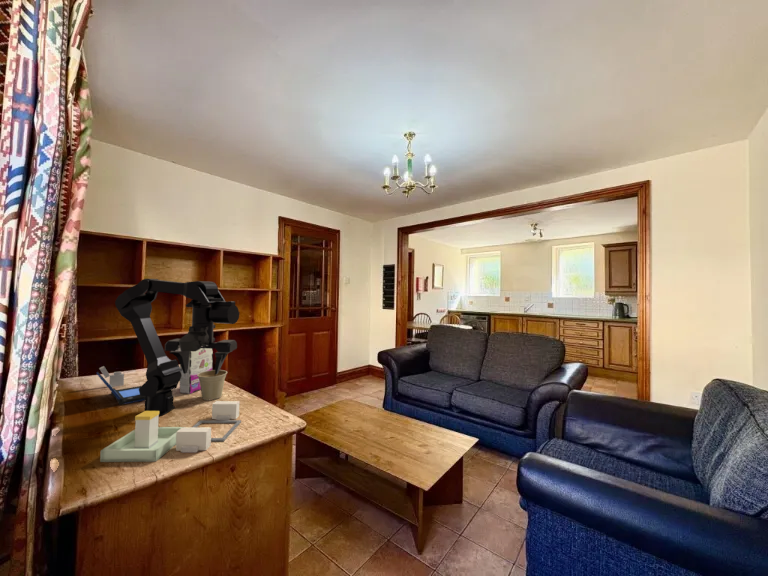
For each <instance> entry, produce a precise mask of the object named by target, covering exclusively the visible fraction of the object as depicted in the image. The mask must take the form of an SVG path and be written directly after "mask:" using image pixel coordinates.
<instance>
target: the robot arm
mask: <svg viewBox="0 0 768 576" xmlns="http://www.w3.org/2000/svg"><path fill="white" fill-rule="evenodd" d="M158 293H165V294H173V295H175V294H176V295H181V296H184V297H185V298H187V299H189V300H190V299H191V300H190V302H188V303H187V304H186V305H185V308H192V311H191V312H192V314H191V319H192V320H191V326H189V328H188V332H187V333H186V334H185V335H183V336H182V337H181V338H173V339H170V340H167V341H166V343H165V344H164V347H163V345H162V342H161V341H160V337H159V335H158V333H157V331H156V329H155V326H154V323H153V320H152V319H151V315H152V314H151V313H152V311H153V306H152V303H153V302H154V301H155V300H156V299H157V296H158ZM114 302H115V303H114V304H115V307H116V309H117V310H118V312H119V314H120V316H122V317H123V318H124V319H126V320H127V321H128V322H130V324H131V327H132V329H133V331H134V333H135V336H136V338H137V341H138V343H139V346H140V348H141V350H142V354H143V356H144V357H145V360H146V363H147V367H146V371H145V378H146V381H145V382H144V383H143V384H142V385H140V386H141V387H140V388H139V393H140V396H145V400H144V411H159V416H164V415H166V414H168V413H169V412H170V411H172V410H173V409H175V408H176V407H175V405H174V400H175V399H174V395H173V390H175V389H177V387H178V385H179V383H180V379H181V377H182V375H181V371H182V370H183V373H184V374H186V373H187V371H188V364H189V354H190V351H193V352H194V351H198V350H199V349H200V348H210V349H214V350H216V352H214V355H215V366H214V367H215V368H214V370H215V374H218V372H219V370H221V369H222V366H223V364H224V361H225V360H226V357H227V356H228V355H229V353H232V352H233V351H236V350H237V348H238V342H237V341H236V340H235V339H222V340H219V341H217V342H216V338H215V337H214V329H216V324H223V325H224V324H225V325H227V324H228V325H235V324H236V323H238V321H239V318H240V310H239V307H238V306H237V305H236V301H232V300H231V301H226V299H225V298H224V297H223V295H222V294H221V292H220V291H219V287H218V285H217V284H216V283H215V281H205V280H204V281H201V280H195V281H186V282H181V281H174V280H173V281H172V280H162V279H158V278H144V279H141V280H140V281H139V282H138V283H136V284H135V285H133V286H131V287H129V288H127V289H126V290H124V291H123V292H122V293H120V294H119V295H117V297H116V299H115V301H114ZM206 345H208V346H206ZM165 352H168V353H169V354H171V355H174V356H175V357H176V358H177V359H176V358H175V359H173V360H172V359H171V358H169V357H168V356H167V354H166V353H165ZM180 365H181V368H182V369H181V368H180ZM144 411H143V412H144Z"/></svg>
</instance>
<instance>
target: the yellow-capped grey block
mask: <svg viewBox="0 0 768 576" xmlns="http://www.w3.org/2000/svg"><path fill="white" fill-rule="evenodd" d="M134 420H135V428H134V430H135V447H134V449H150V448H151V447H152V446H154V445H155V444H156V443H158V427H159V411H143V412H141V413H139V414H137V415H135V416H134Z"/></svg>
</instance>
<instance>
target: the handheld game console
mask: <svg viewBox="0 0 768 576" xmlns="http://www.w3.org/2000/svg"><path fill="white" fill-rule="evenodd" d="M96 375H97V376H98V377H99V378H100V380H101V381H102V382H103V383H104V385H105V386H106V387H107V388H108V389H109V390H110V395H111V396H112V397H113V399H116V402H117V403H118V405H120V406H122V405H125V404H132V403H137V402H141V401H142V402H143V401H145V396H140V393H139V388H140V387H141V386H142V385H138V386H131V387H126V388H121V389H115V388H114V387H111V386H110V384H109V382H108V381H107V380H106V378H105V377H104V376H102V375H101V373H100V372H99V371H97V372H96Z"/></svg>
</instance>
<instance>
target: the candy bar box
mask: <svg viewBox="0 0 768 576" xmlns="http://www.w3.org/2000/svg"><path fill="white" fill-rule="evenodd" d="M206 346H208V345H206ZM213 352H214V351H213V349H210V348H200V349H199V350H198V351H194V352H193V351H190V354H189V364H188V371H187V373H186V374H184V373H183V370H182V371H181V375H182V377H181V379H180V381H179V393H180V394H188V395H190V394H193V393H196V392H199V391H201V386H200V381H199V378H198V376H197V374H199V373H201V372H204V371H210V370H213V357H214V356H213V355H214V353H213ZM179 367H180V368H181V365H180V364H179ZM181 369H182V368H181Z"/></svg>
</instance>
